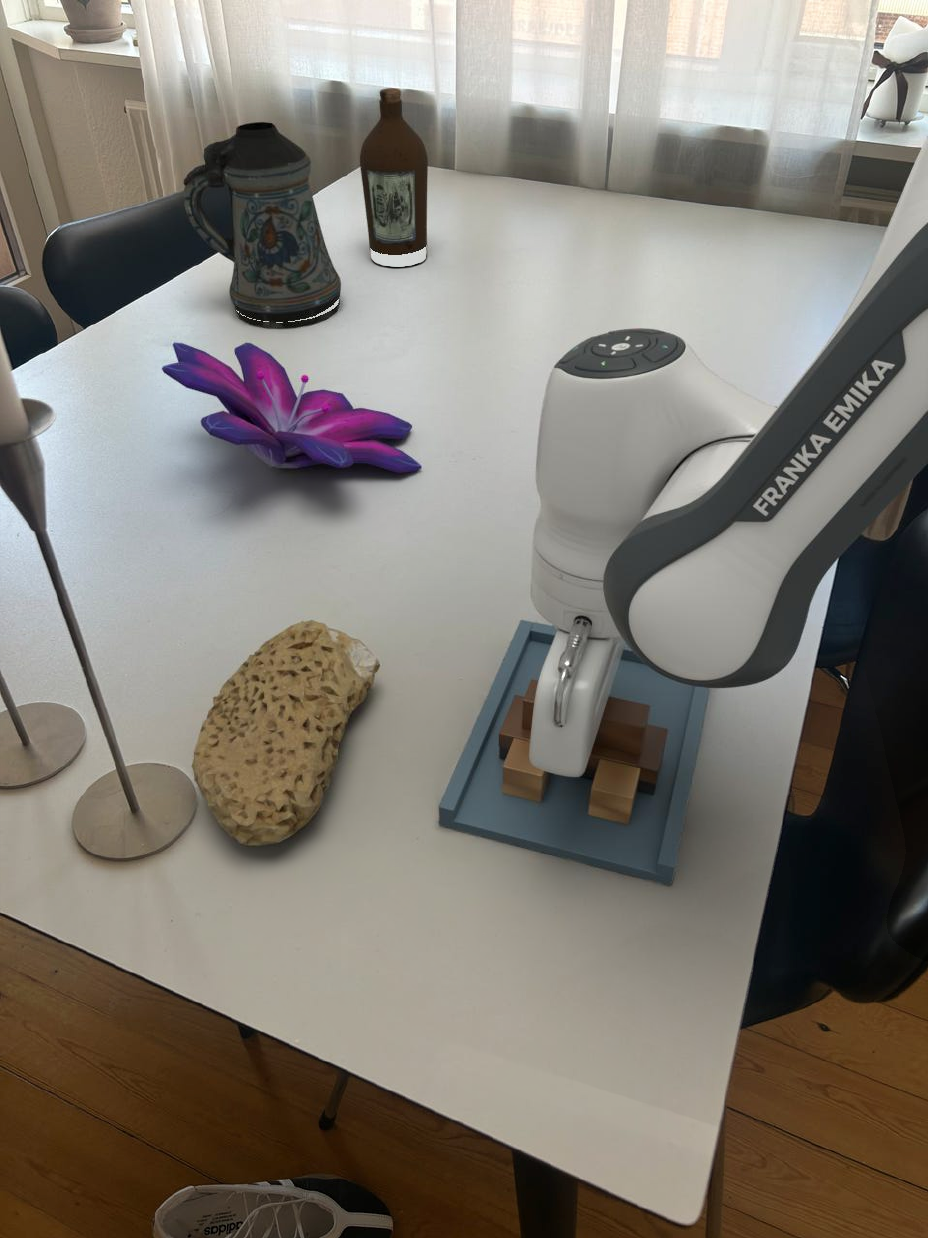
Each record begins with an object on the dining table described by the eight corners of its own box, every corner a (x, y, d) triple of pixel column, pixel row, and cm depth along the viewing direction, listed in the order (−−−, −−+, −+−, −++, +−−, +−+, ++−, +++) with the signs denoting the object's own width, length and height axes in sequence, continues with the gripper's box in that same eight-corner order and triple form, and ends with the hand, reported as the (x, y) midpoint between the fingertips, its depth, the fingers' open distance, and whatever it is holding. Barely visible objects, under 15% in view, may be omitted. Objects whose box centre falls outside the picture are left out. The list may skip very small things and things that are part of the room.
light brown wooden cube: (636, 794, 72) (640, 767, 70) (628, 825, 69) (632, 798, 67) (596, 785, 72) (600, 758, 70) (587, 815, 70) (590, 788, 68)
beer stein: (365, 307, 145) (350, 125, 129) (254, 346, 135) (224, 153, 119) (301, 278, 154) (280, 104, 138) (194, 312, 144) (158, 129, 128)
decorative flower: (333, 417, 130) (358, 348, 125) (441, 547, 111) (476, 472, 106) (101, 377, 110) (121, 294, 106) (184, 526, 91) (213, 433, 87)
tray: (711, 677, 83) (715, 658, 81) (671, 886, 67) (675, 867, 65) (520, 637, 87) (520, 619, 85) (438, 825, 71) (438, 806, 69)
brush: (663, 755, 74) (673, 700, 71) (653, 798, 71) (663, 742, 67) (514, 720, 77) (515, 665, 74) (498, 760, 74) (498, 704, 70)
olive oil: (371, 246, 165) (360, 82, 149) (433, 247, 164) (428, 82, 148) (362, 269, 157) (349, 98, 141) (427, 270, 156) (421, 98, 140)
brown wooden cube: (551, 773, 73) (553, 746, 71) (540, 803, 71) (542, 776, 69) (513, 764, 74) (514, 737, 72) (501, 793, 72) (502, 766, 70)
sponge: (282, 667, 86) (122, 792, 70) (296, 595, 82) (128, 710, 66) (409, 736, 83) (271, 882, 67) (430, 664, 78) (288, 803, 62)
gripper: (613, 692, 55) (595, 843, 64) (672, 503, 69) (650, 646, 78) (506, 669, 56) (503, 819, 65) (586, 489, 71) (575, 631, 80)
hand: (584, 723), depth 72 cm, fingers closed on brush, 2 cm apart
